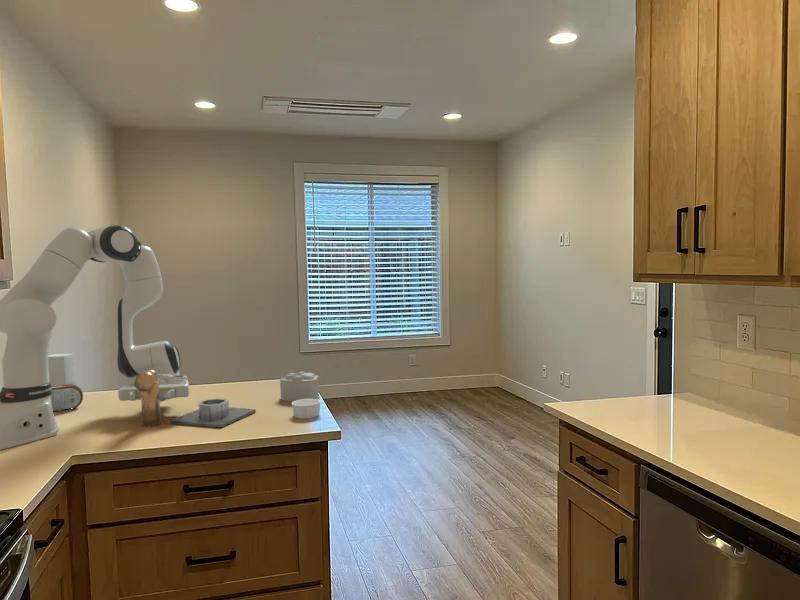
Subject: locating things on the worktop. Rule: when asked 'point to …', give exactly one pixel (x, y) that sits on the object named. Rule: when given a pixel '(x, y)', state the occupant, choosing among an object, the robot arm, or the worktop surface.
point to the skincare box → (61, 369)
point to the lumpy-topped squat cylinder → (299, 386)
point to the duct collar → (213, 414)
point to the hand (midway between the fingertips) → (149, 396)
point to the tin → (66, 397)
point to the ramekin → (306, 408)
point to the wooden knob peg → (149, 397)
